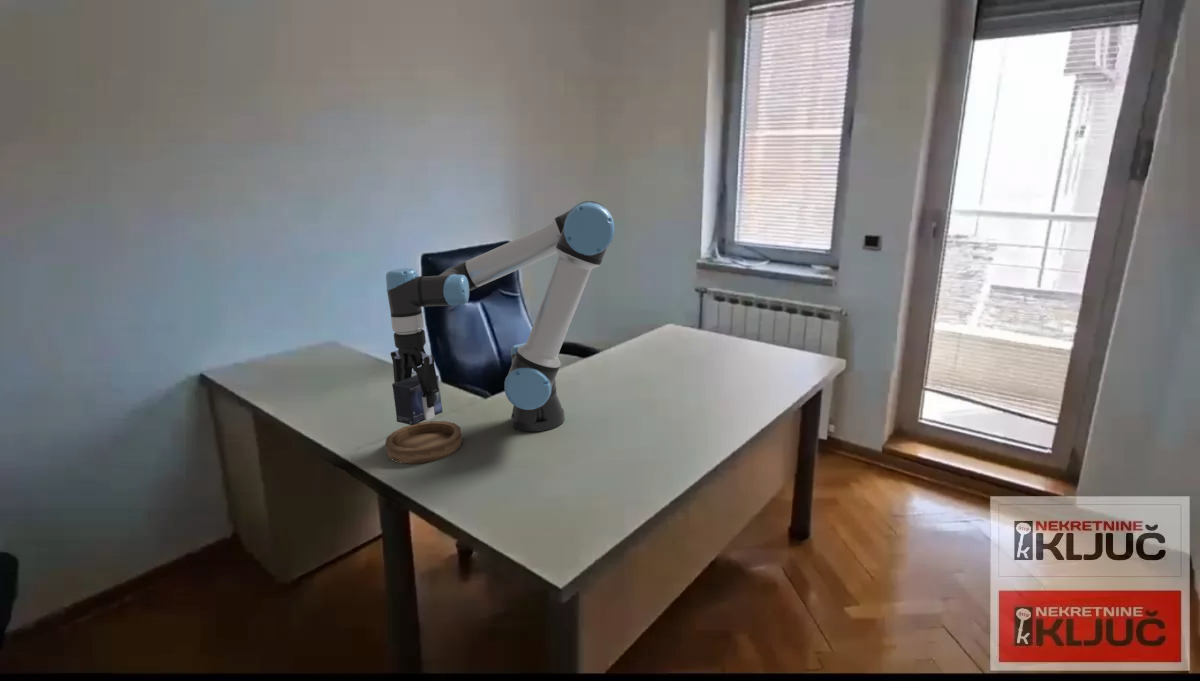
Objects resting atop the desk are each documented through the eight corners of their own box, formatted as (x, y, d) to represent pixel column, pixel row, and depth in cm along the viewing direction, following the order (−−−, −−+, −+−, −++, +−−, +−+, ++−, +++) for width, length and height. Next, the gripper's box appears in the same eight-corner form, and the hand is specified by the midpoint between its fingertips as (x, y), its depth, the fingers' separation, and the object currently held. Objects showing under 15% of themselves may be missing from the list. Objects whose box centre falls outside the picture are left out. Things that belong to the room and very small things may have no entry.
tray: (476, 440, 166) (475, 427, 165) (423, 469, 151) (421, 456, 150) (427, 428, 176) (425, 417, 175) (372, 455, 161) (370, 442, 160)
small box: (413, 426, 155) (407, 386, 152) (396, 422, 158) (390, 383, 156) (444, 412, 164) (439, 374, 161) (427, 408, 167) (421, 371, 164)
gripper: (447, 330, 153) (457, 417, 159) (394, 324, 163) (406, 406, 169) (424, 337, 147) (436, 427, 153) (371, 330, 157) (384, 415, 163)
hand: (420, 416), depth 161 cm, fingers closed on small box, 6 cm apart
